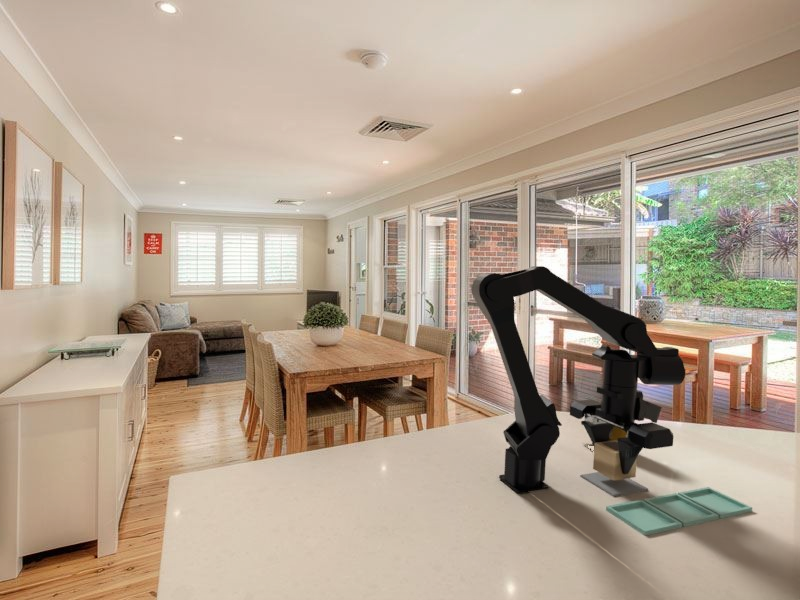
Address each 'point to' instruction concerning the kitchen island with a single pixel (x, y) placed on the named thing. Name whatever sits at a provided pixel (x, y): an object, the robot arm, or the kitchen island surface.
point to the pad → (614, 484)
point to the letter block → (610, 461)
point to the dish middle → (681, 509)
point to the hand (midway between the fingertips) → (613, 467)
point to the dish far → (716, 502)
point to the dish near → (643, 517)
